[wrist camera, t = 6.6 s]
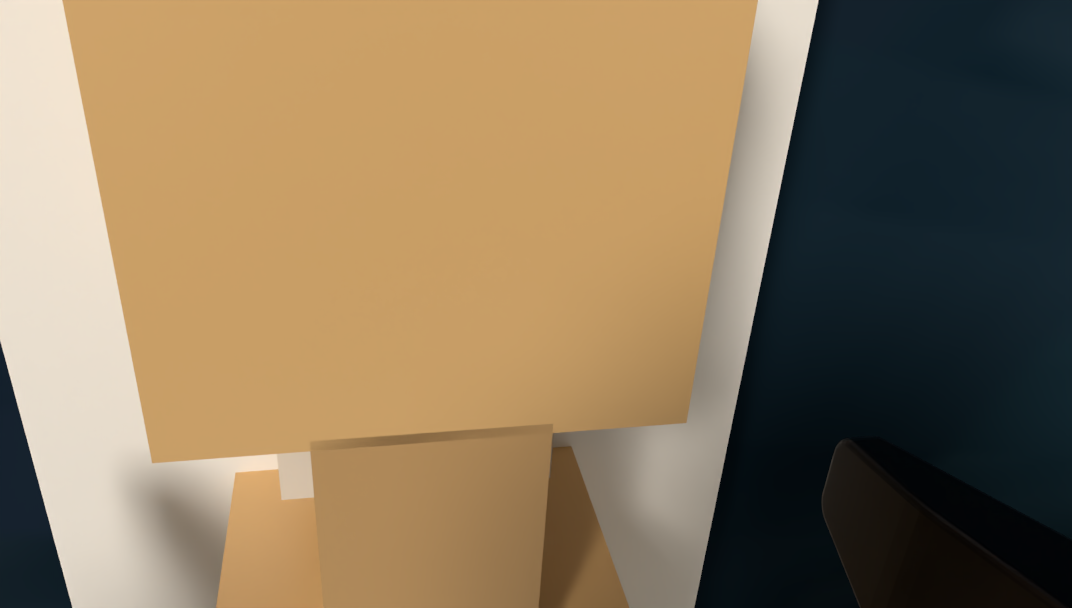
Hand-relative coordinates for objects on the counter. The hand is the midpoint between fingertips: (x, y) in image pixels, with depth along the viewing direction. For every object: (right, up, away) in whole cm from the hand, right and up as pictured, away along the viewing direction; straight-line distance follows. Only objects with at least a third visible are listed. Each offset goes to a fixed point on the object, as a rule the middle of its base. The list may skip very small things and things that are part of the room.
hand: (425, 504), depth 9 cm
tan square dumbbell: (-1, +1, +2) cm, 3 cm away
